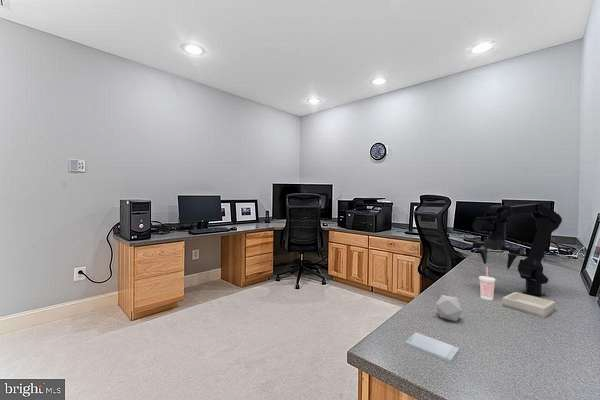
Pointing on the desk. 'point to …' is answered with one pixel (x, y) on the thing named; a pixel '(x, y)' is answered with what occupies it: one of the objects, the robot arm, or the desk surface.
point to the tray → (529, 304)
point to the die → (449, 308)
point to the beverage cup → (487, 286)
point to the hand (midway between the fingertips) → (496, 266)
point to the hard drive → (433, 347)
